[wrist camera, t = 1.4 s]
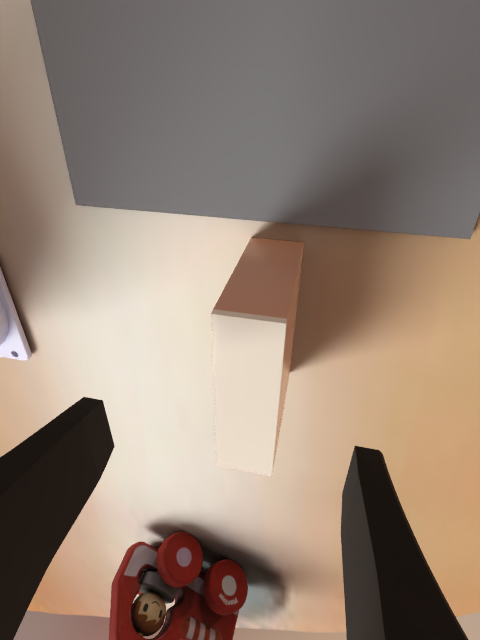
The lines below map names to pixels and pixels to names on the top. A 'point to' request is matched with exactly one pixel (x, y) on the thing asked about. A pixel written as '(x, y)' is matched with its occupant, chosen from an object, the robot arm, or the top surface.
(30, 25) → the top surface
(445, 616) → the robot arm
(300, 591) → the top surface
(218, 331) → the block
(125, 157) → the mat
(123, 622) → the toy fire truck
